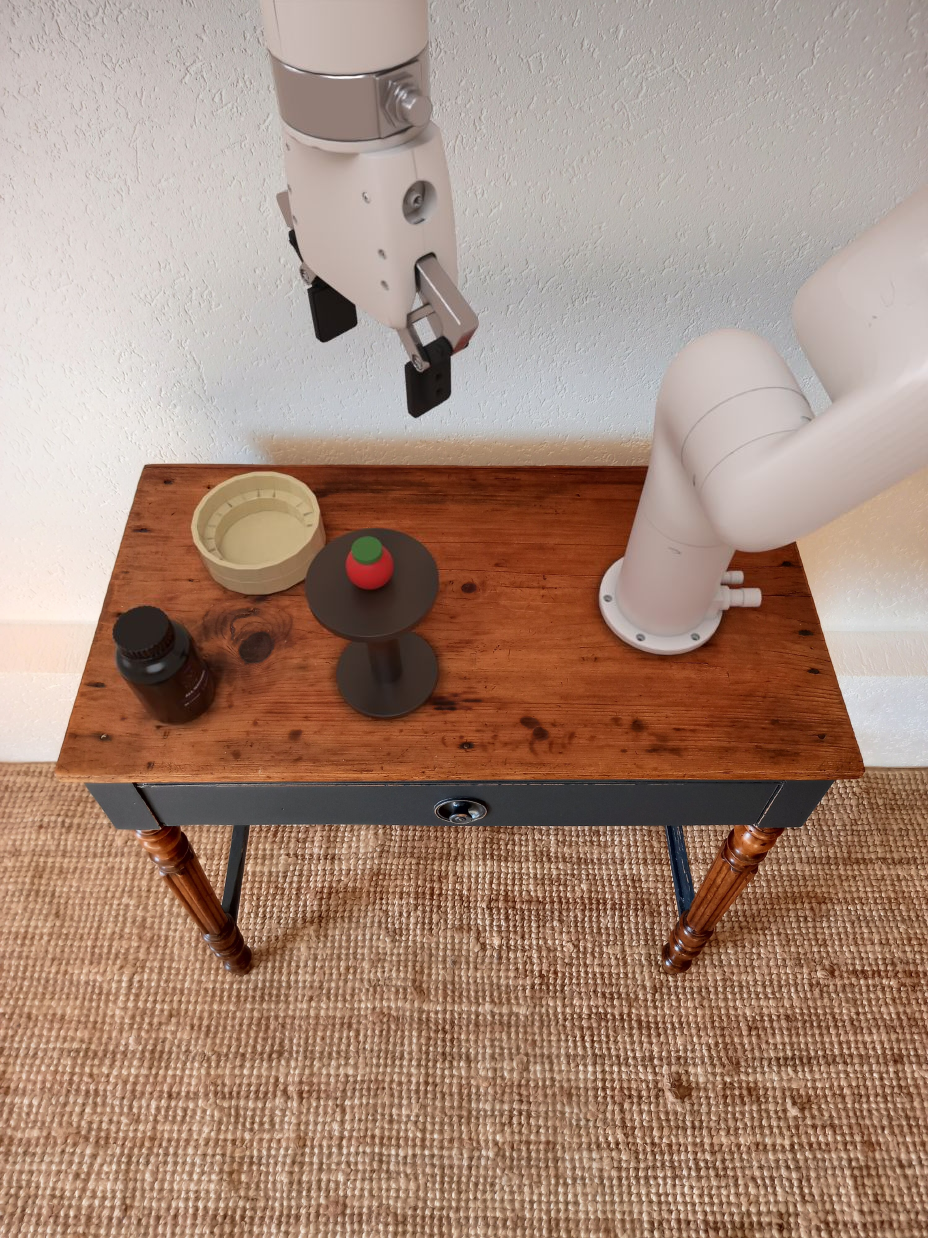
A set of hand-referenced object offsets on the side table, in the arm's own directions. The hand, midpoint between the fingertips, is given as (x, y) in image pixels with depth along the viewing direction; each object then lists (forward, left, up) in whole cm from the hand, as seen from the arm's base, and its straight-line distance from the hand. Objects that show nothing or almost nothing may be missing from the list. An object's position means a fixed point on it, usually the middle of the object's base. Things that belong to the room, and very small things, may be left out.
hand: (381, 368), depth 53 cm
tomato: (+2, +4, -18) cm, 19 cm away
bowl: (+16, -12, -34) cm, 39 cm away
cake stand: (+2, +4, -34) cm, 34 cm away
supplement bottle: (+22, +6, -34) cm, 41 cm away
